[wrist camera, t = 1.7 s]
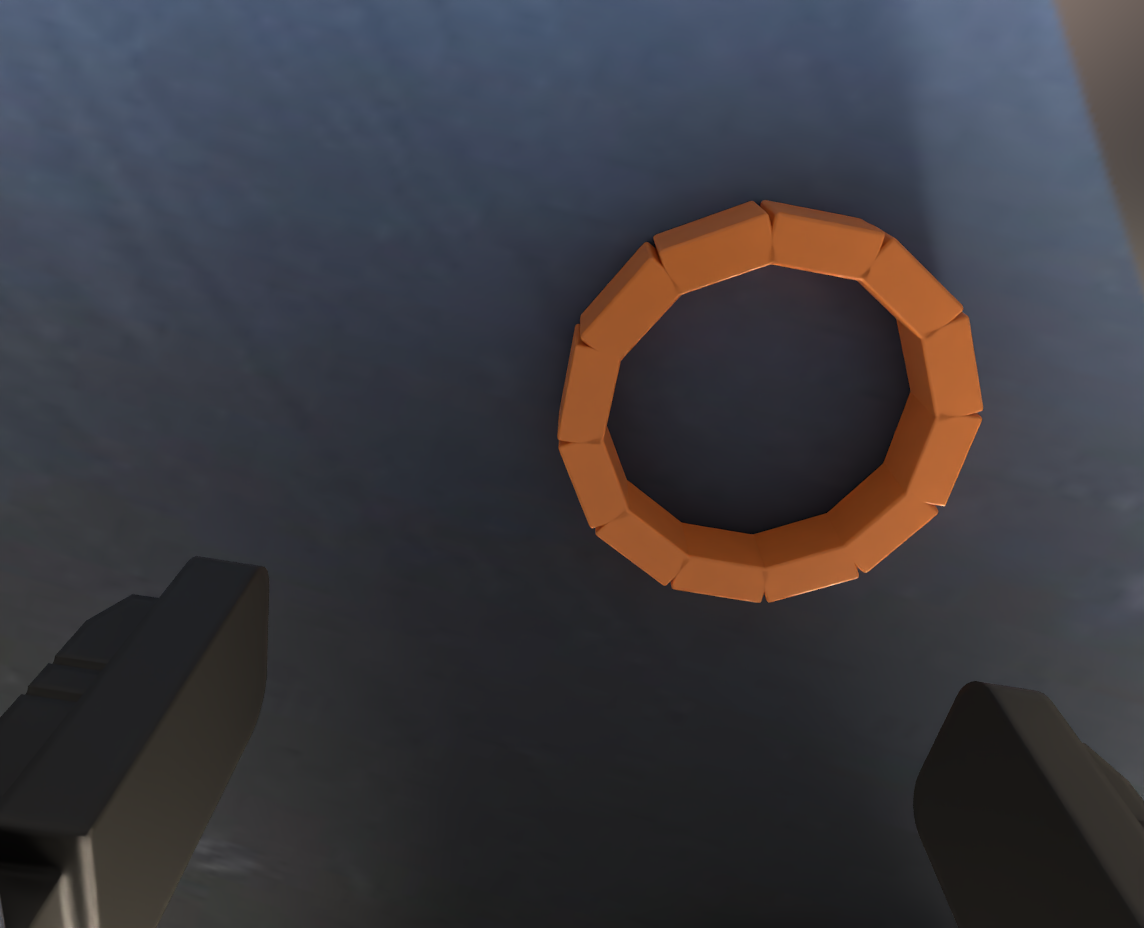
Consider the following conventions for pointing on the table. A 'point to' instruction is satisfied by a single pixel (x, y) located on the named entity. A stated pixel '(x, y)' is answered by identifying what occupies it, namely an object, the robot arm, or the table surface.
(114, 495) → the table surface
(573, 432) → the ring
